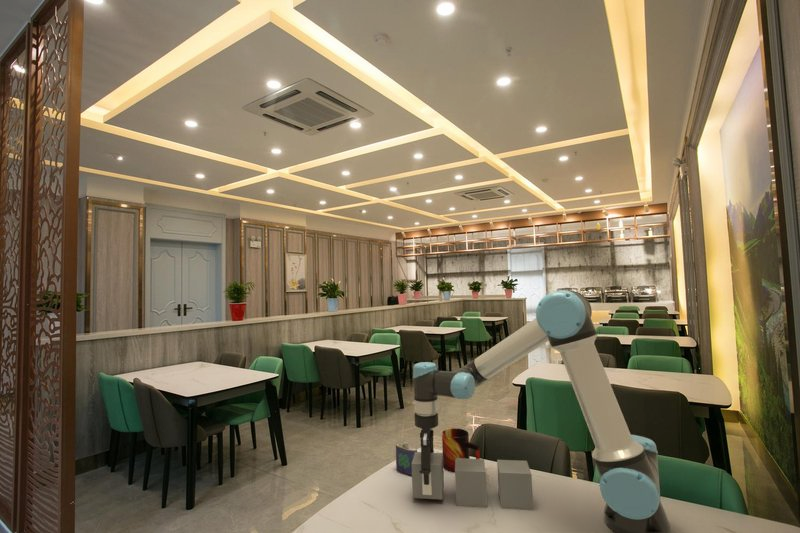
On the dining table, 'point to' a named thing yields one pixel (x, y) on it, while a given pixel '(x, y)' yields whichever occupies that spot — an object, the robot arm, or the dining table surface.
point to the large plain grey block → (436, 476)
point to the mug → (456, 447)
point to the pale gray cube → (470, 482)
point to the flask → (404, 458)
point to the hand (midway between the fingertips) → (428, 486)
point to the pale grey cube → (515, 484)
